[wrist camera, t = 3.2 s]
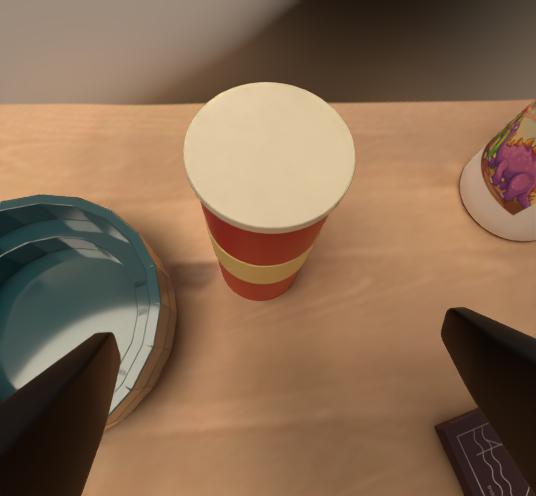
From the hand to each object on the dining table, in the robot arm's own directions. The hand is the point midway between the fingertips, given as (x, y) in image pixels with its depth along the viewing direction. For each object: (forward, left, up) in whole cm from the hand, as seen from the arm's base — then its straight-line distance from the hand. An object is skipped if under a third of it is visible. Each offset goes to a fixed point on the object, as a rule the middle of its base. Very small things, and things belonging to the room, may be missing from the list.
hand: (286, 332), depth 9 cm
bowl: (-7, +10, -12) cm, 17 cm away
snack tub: (+4, +4, -12) cm, 13 cm away
